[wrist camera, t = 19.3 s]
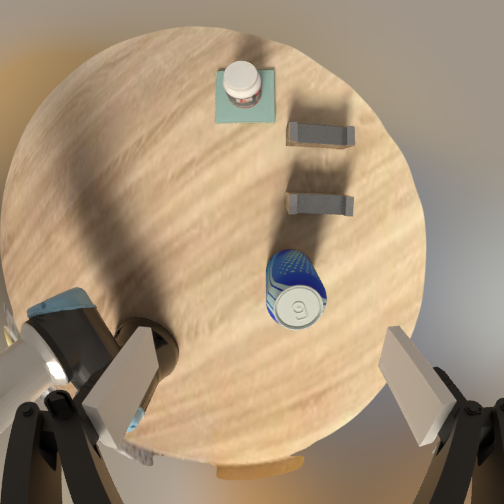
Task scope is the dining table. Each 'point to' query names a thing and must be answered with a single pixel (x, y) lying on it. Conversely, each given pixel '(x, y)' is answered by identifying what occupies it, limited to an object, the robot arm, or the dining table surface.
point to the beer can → (294, 290)
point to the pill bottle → (242, 84)
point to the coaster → (255, 114)
